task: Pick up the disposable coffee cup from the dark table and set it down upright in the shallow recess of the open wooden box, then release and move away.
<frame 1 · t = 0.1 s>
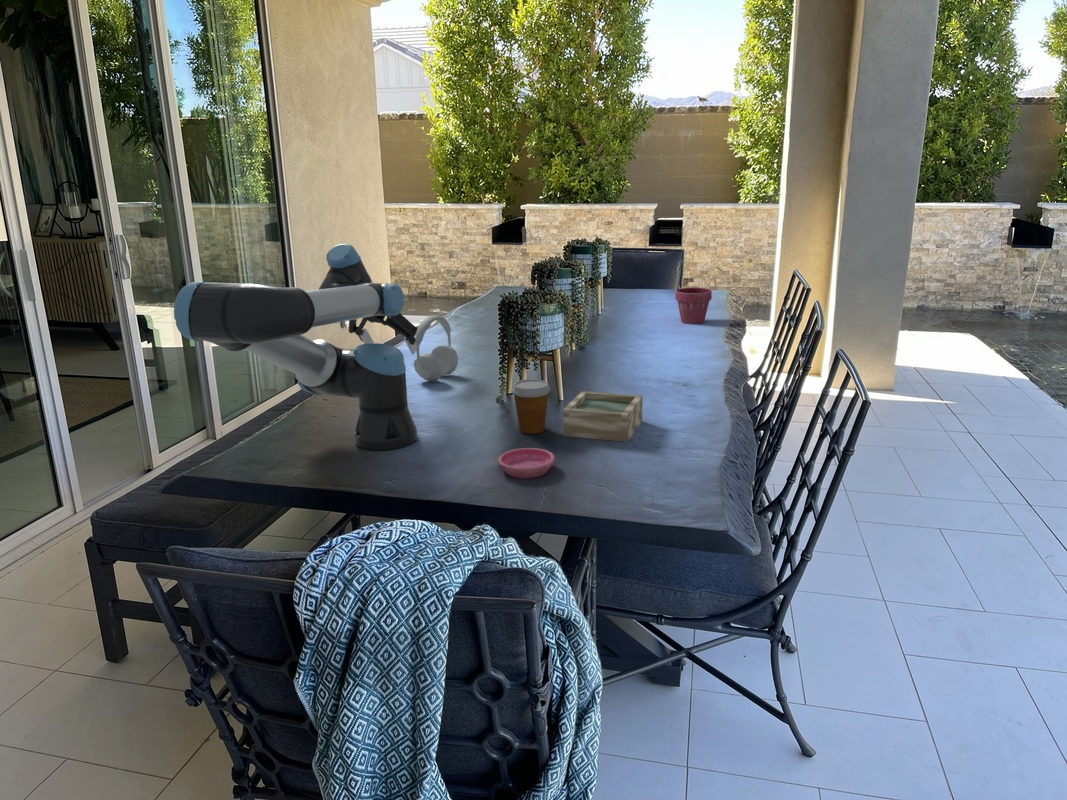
hand: (393, 349, 223), 15 cm above the table, fingers open, 13 cm apart
headphones: (436, 379, 249), on the table
saucer: (526, 471, 176), on the table
plant pot: (692, 322, 320), on the table
open wooden box: (603, 428, 201), on the table
disposable coffee cup: (532, 430, 201), on the table
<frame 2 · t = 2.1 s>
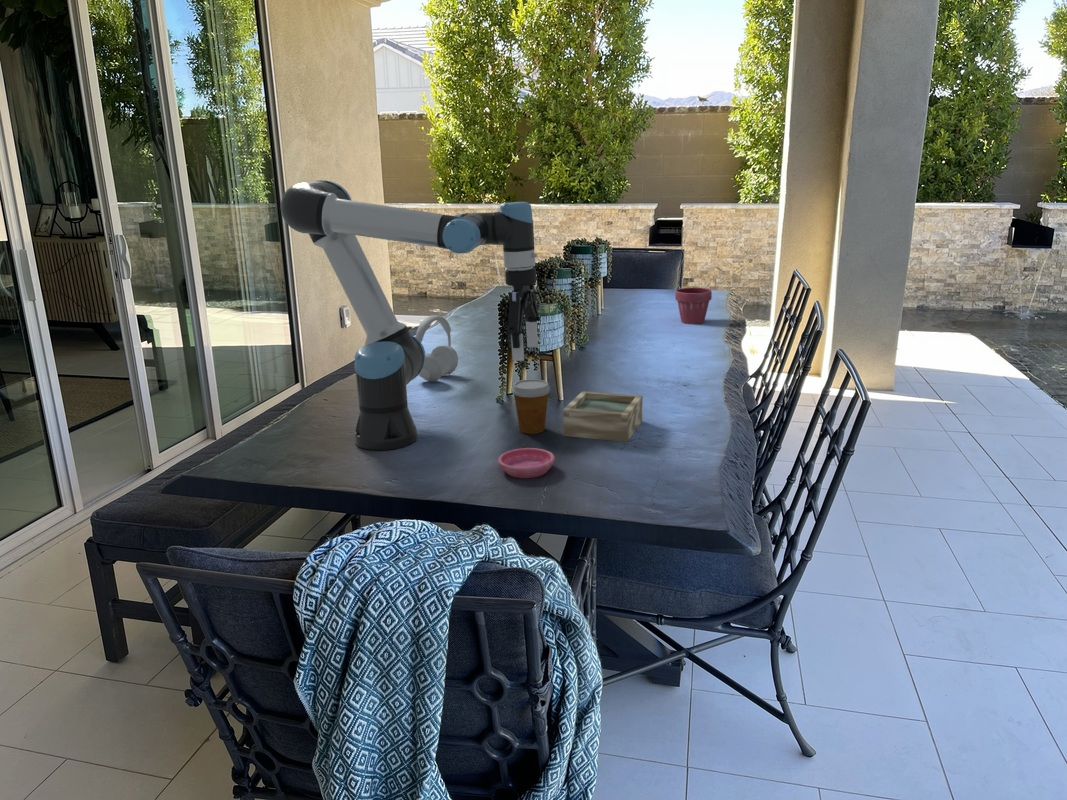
hand: (525, 353, 199), 19 cm above the table, fingers open, 13 cm apart
nothing on the table moved.
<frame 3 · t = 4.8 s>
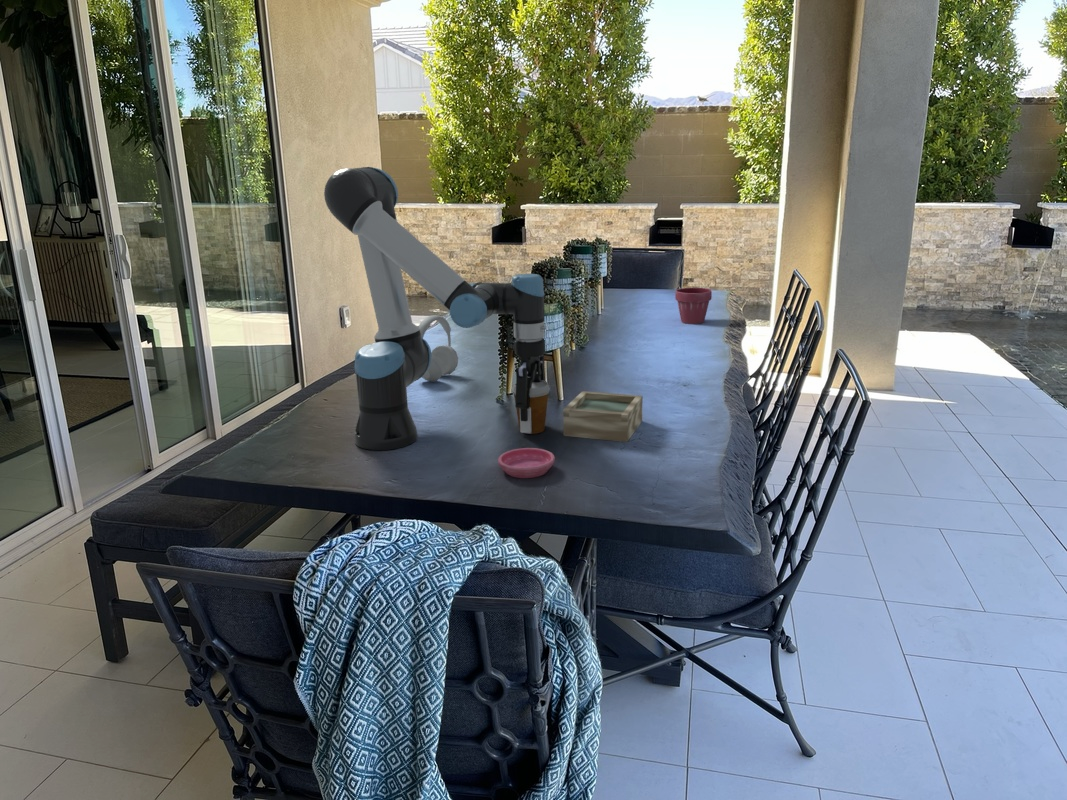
hand: (532, 426, 201), 1 cm above the table, fingers closed on disposable coffee cup, 8 cm apart
disposable coffee cup: (532, 430, 201), on the table, touching gripper
everything else where it was.
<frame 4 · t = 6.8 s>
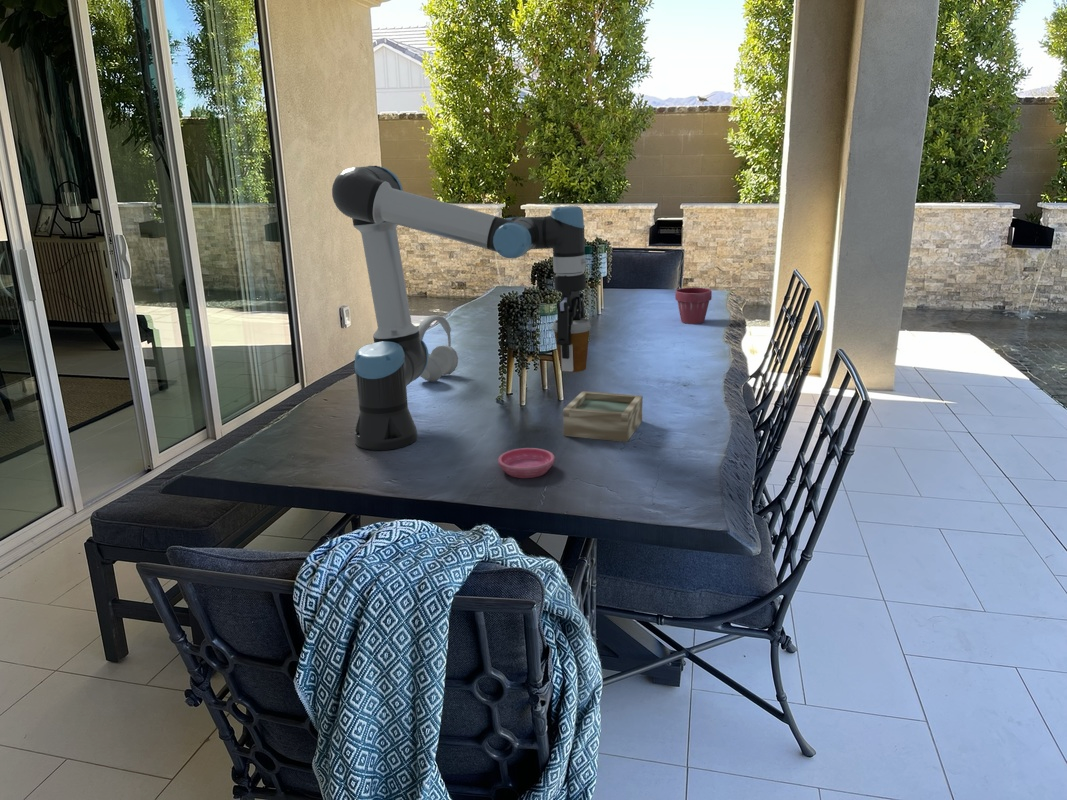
hand: (573, 366, 196), 16 cm above the table, fingers closed on disposable coffee cup, 8 cm apart
disposable coffee cup: (573, 370, 196), point 15 cm above the table, touching gripper
everything else where it was.
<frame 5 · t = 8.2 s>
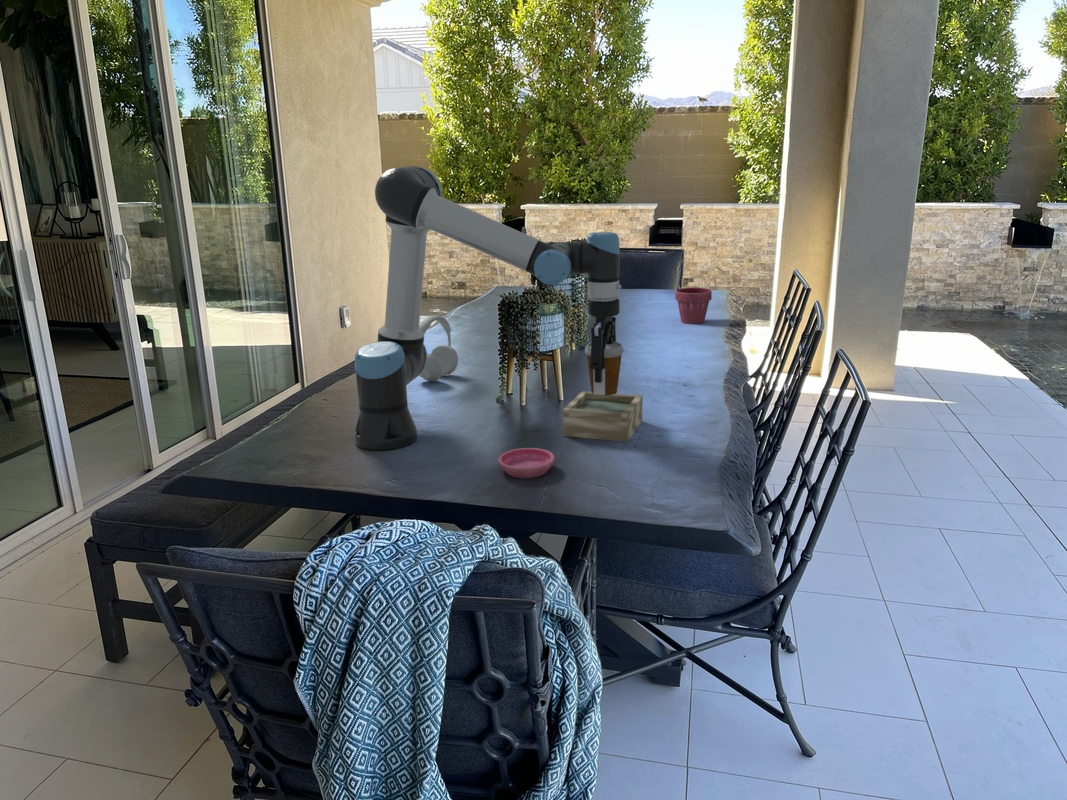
hand: (604, 389, 198), 10 cm above the table, fingers closed on disposable coffee cup, 8 cm apart
disposable coffee cup: (604, 392, 198), point 9 cm above the table, touching gripper
everything else where it was.
when the fingers open (7 cm above the table, at t = 9.2 s): disposable coffee cup drops 1 cm, resting on open wooden box.
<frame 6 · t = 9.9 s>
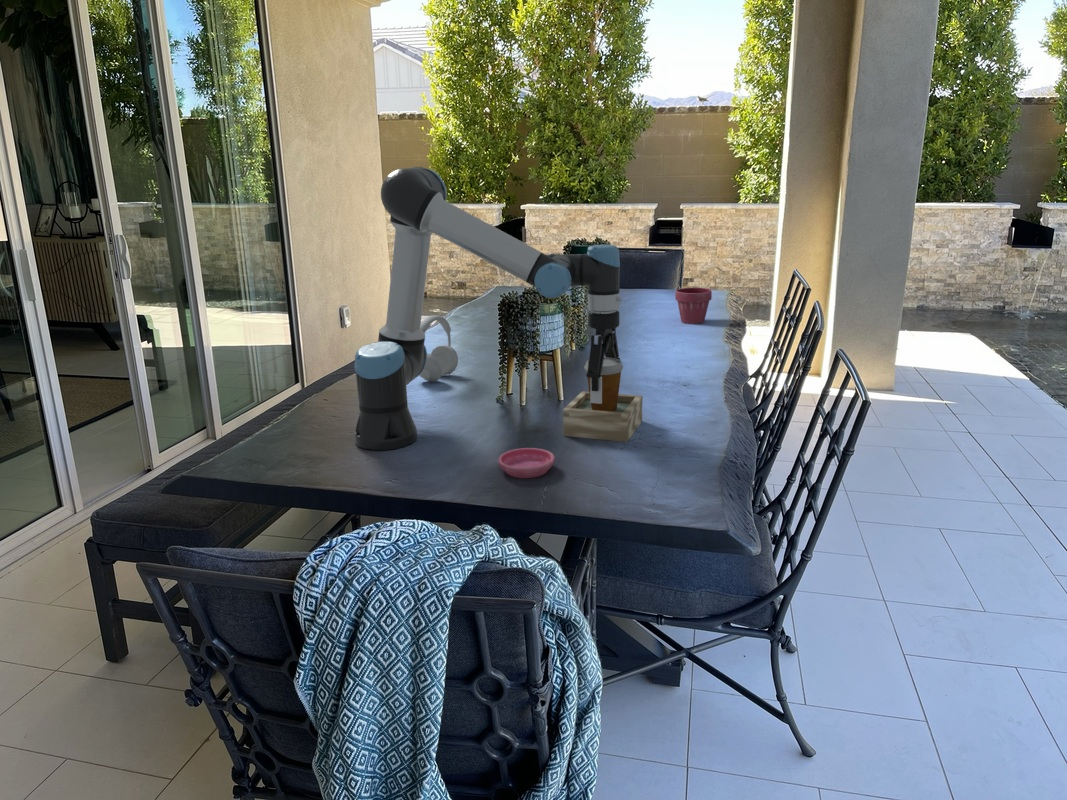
hand: (603, 395, 198), 9 cm above the table, fingers open, 13 cm apart
disposable coffee cup: (604, 409, 199), point 5 cm above the table, touching open wooden box
everything else where it was.
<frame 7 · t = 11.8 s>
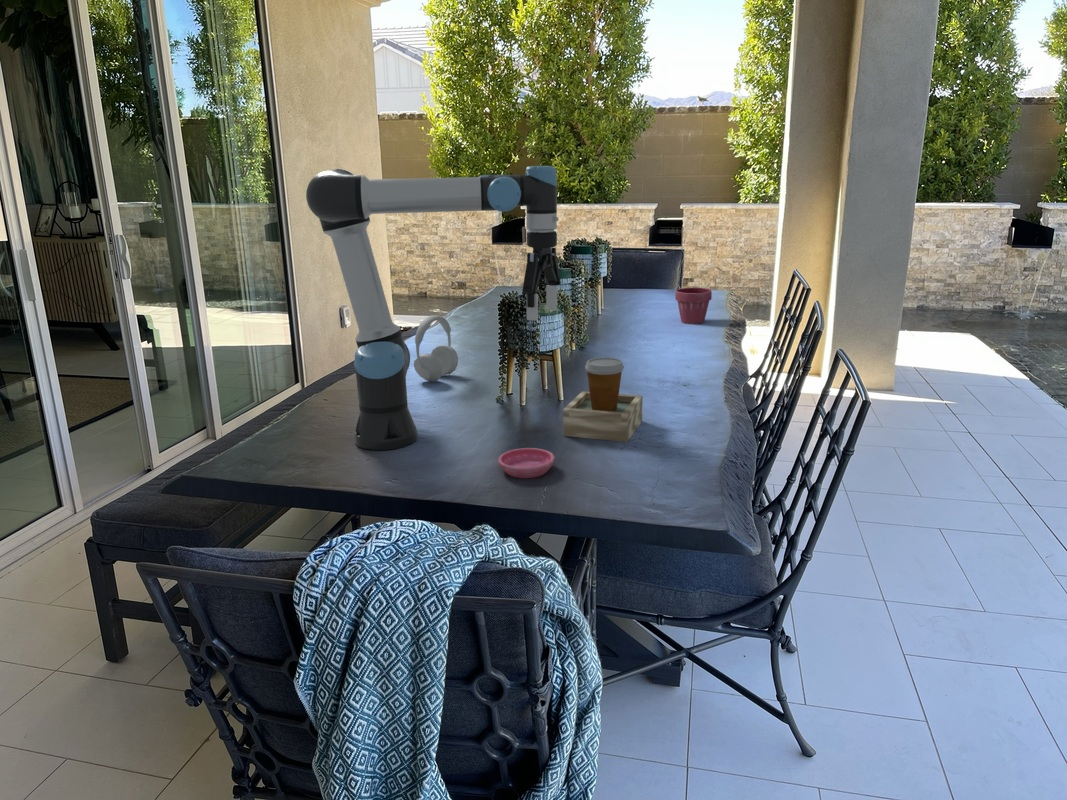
hand: (542, 315, 205), 27 cm above the table, fingers open, 13 cm apart
nothing on the table moved.
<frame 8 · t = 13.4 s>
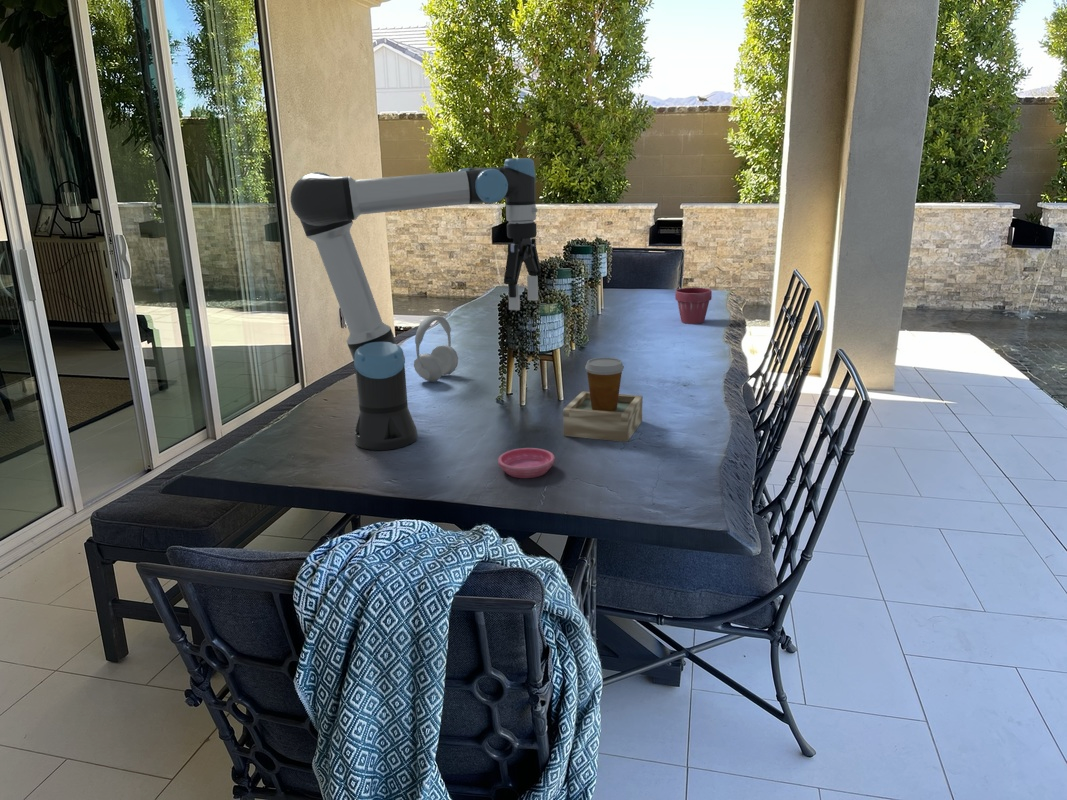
hand: (523, 305, 208), 29 cm above the table, fingers open, 13 cm apart
nothing on the table moved.
at the end: disposable coffee cup inside the target area on the open wooden box (0.1 cm from its centre), point 5.0 cm above the open wooden box's base; disposable coffee cup tilted 0°; the gripper is holding nothing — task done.
